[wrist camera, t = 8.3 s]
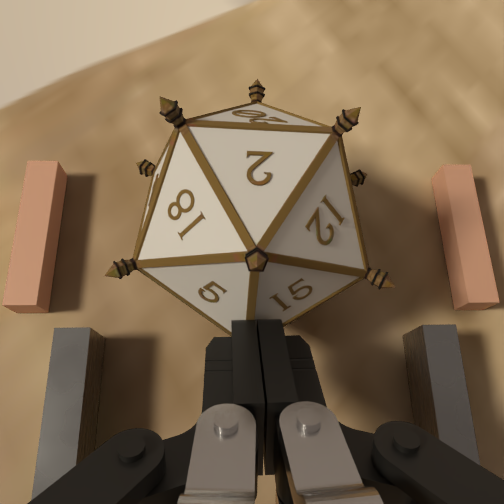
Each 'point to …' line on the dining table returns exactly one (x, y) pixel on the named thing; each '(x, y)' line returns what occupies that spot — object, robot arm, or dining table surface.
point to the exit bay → (51, 207)
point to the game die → (252, 214)
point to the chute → (89, 382)
